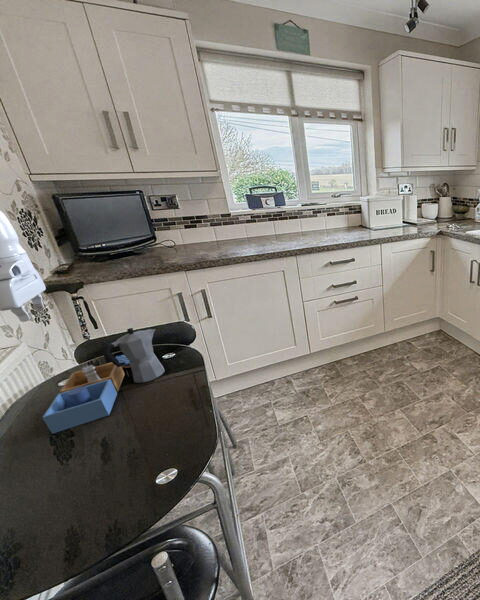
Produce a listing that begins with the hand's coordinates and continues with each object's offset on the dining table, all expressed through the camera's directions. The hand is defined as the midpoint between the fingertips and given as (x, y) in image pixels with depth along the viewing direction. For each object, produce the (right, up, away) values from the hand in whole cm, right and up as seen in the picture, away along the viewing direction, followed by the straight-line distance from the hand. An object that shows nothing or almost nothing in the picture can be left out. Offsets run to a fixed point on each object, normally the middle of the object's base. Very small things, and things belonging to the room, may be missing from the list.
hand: (33, 315), depth 91 cm
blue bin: (+11, -29, +4) cm, 31 cm away
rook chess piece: (+4, -25, +15) cm, 29 cm away
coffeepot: (+16, -22, +20) cm, 34 cm away
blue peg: (+11, -28, +4) cm, 30 cm away
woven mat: (+1, -19, +31) cm, 36 cm away
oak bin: (+4, -25, +15) cm, 30 cm away
